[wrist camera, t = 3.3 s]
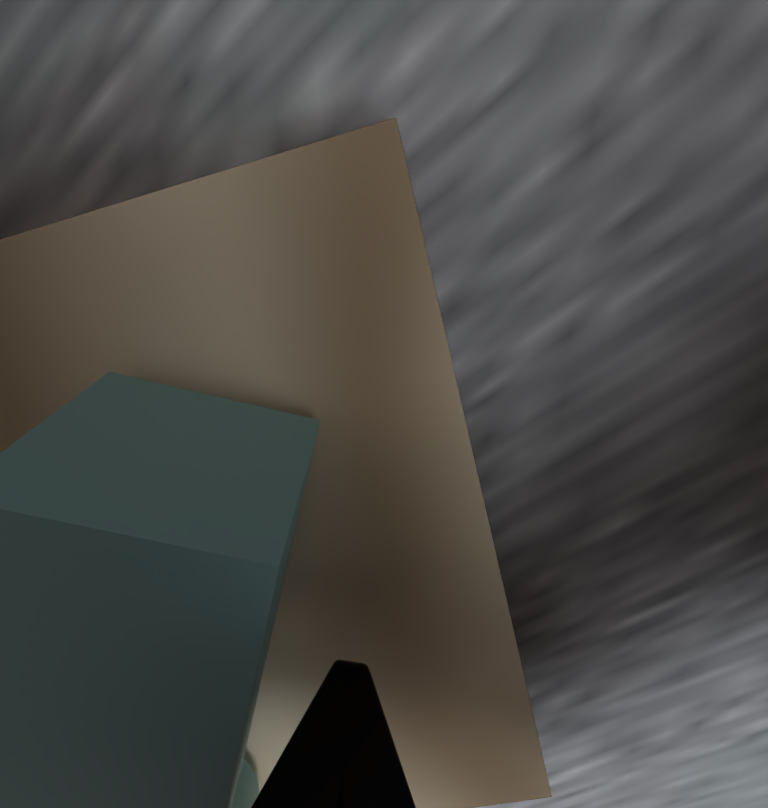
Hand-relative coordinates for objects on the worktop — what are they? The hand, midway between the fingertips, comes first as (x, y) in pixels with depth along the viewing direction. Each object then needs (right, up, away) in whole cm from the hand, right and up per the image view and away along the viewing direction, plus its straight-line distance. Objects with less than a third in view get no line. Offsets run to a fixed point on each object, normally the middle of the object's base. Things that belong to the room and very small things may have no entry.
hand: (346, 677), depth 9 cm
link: (-3, 0, +1) cm, 3 cm away
